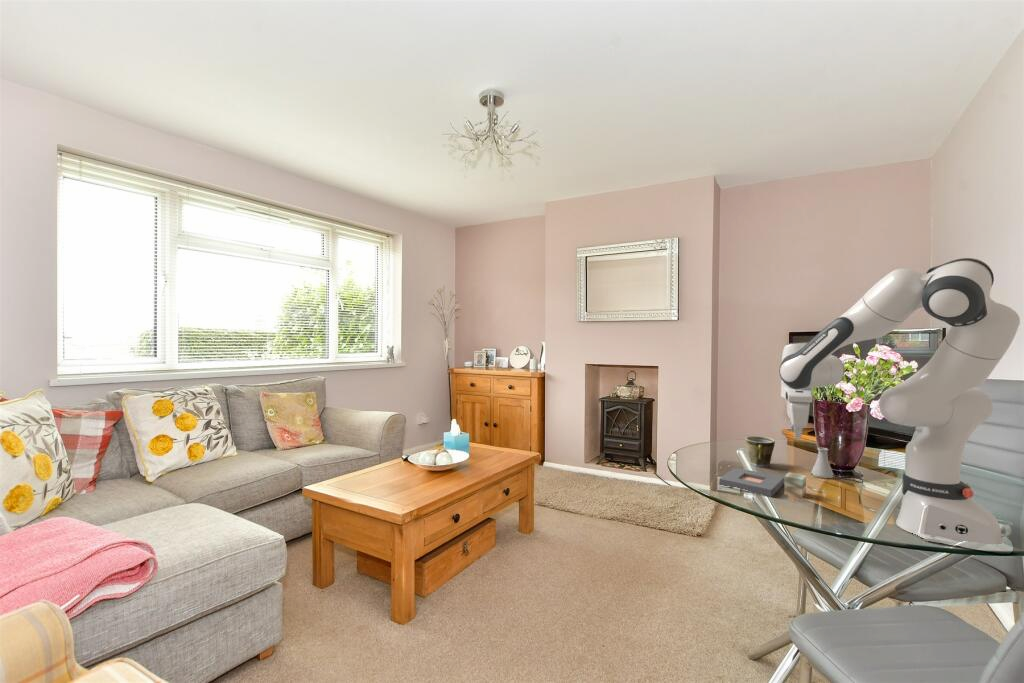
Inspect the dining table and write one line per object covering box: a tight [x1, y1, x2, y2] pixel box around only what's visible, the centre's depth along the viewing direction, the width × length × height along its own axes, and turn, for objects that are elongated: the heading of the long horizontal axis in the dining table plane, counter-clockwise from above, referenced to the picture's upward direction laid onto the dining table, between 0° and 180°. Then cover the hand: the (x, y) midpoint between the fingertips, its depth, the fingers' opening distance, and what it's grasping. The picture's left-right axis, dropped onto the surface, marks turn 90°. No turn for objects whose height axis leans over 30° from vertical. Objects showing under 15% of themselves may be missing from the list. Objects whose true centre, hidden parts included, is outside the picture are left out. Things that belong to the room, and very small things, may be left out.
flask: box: [810, 447, 835, 479], centre depth 171 cm, size 7×7×10 cm
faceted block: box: [784, 472, 807, 499], centre depth 154 cm, size 5×5×6 cm
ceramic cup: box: [745, 435, 776, 469], centre depth 183 cm, size 13×10×10 cm
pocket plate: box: [718, 467, 785, 498], centre depth 163 cm, size 16×16×2 cm
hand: (795, 435), depth 153 cm, fingers open, 8 cm apart
